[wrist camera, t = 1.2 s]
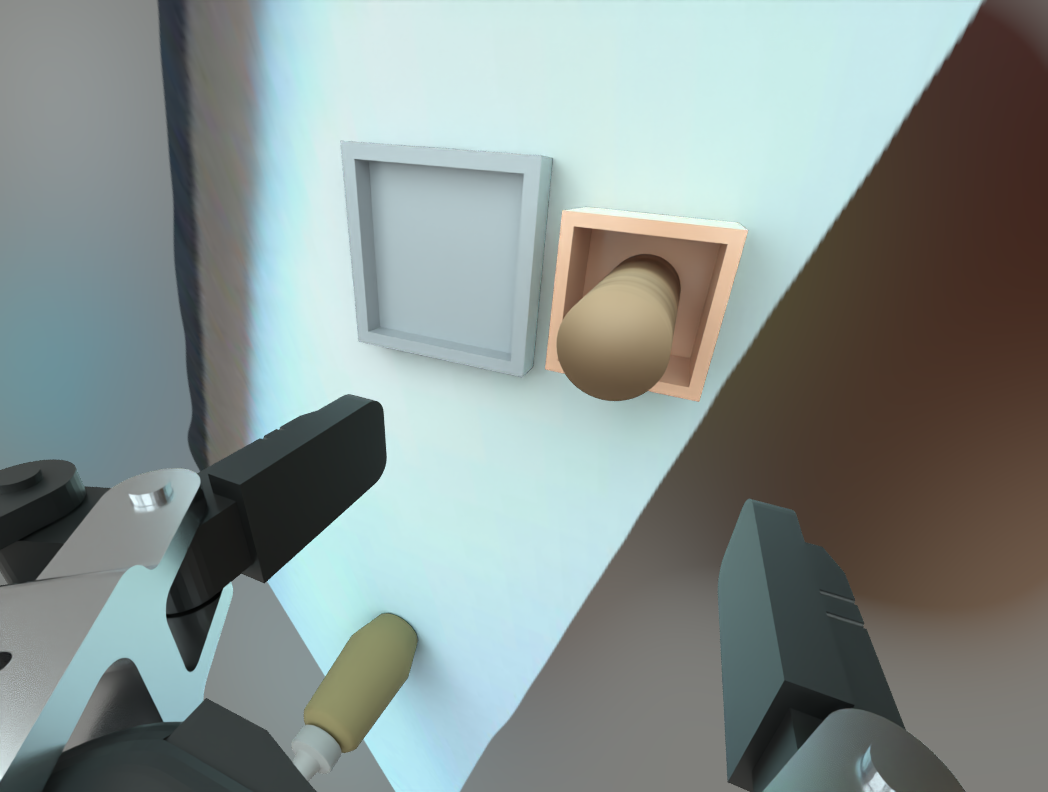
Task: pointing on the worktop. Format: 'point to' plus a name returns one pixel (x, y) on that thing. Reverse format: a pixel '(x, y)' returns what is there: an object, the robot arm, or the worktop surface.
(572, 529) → the worktop surface
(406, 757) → the worktop surface
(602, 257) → the terracotta box
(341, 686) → the squeeze bottle
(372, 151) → the slate tray
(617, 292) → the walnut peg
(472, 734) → the worktop surface
